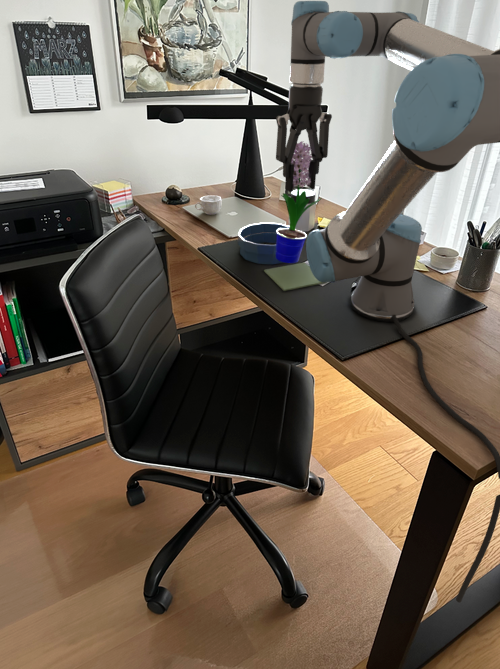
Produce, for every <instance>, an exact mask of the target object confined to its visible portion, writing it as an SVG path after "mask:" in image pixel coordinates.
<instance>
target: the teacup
mask: <svg viewBox="0 0 500 669" xmlns="http://www.w3.org/2000/svg"><path fill="white" fill-rule="evenodd" d="M197 205H199V206H200V208H199V207H198V206H197ZM194 208H195V209H196V210H198V211H202V212H203V213H204V214H206V215H209V216H212V215H217V214H218V213H219V212H220V211H221V209H222V197H221V196H220V195H214V194H212V195H211V194H209V195H204V196H201V197H199V202H198V201H197V202H196V203H195V204H194Z"/></svg>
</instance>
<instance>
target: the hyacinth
mask: <svg viewBox="0 0 500 669" xmlns="http://www.w3.org/2000/svg"><path fill="white" fill-rule="evenodd" d="M311 154H312V152H311V149H310V144H309V143H307V142H305V141H303V140H302V141H299V142H297V144H296V148H295V151H294V155H293V158H292V162H291V163H292V164H294V176H293V190H295V189H296V190H297V197H296V203H295V201H294V199H293V198H292V197H291V196H289V194H287V193H285V192H283V193H282V194H281V195H280V197H282V198H283V200H284V202H285V205H286V209H287V213H288V220H289V219H290V228H281V229H278V230H277V241H276V243H275V245H276V259H277V260H279V261H281V262H284V263H286V264H298V263H299V261H300V259H301V258H300V257H301V255H302V251H303V248H304V245H305V243H306V240H307V237H308V234H306V232H305V231H299V230H296V229H295V227H296V224H297V222H298V220H299V219H300V217H301V215H302V214H303V213H304V212H305V211H306V210H307V209H308V208H309V207H311V206H312V205H314V204H315V203H316V204H317V203H318V202H320V201H321V200H322V199H323V198H322V197H321V198H318V199H317V200H315V202H313V203H311V204H309V205H308V206H307V207H306V205H307V203H308V202H309V200H310V199H306V191H303V192H302V193H301V194H300V196H299V193H300V189H304V187H306V186H307V185H309V186H310V183H311V181H310V180H311V178H310V179H309V171H308V168H309V165H310V164H309V163H310V161H309V160H312V155H311ZM296 187H297V188H296ZM305 199H306V200H305ZM305 207H306V208H305ZM304 208H305V209H304Z"/></svg>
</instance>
